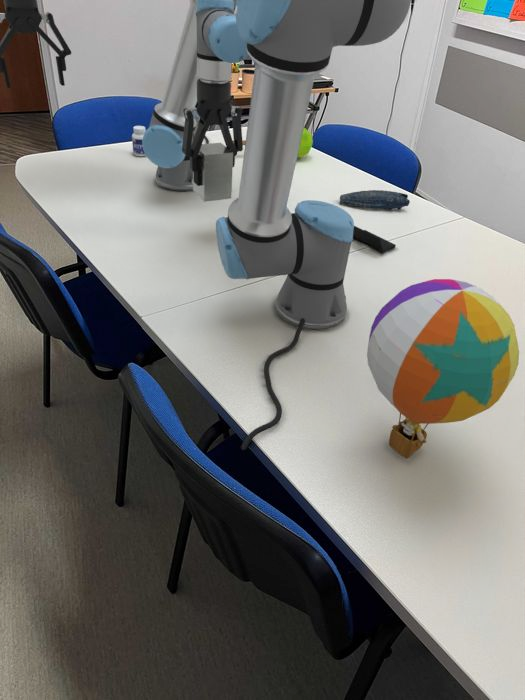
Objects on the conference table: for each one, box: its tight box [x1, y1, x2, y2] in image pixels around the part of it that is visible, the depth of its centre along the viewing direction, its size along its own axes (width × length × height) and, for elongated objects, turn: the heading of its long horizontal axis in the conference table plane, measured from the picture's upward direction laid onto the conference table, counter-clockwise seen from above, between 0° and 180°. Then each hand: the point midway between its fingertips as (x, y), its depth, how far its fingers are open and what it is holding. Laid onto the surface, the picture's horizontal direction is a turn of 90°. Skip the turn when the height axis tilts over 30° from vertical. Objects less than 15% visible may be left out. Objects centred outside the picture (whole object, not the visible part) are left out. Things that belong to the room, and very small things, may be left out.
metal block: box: [192, 142, 234, 203], centre depth 126 cm, size 7×7×11 cm
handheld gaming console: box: [353, 225, 397, 255], centre depth 137 cm, size 12×7×10 cm
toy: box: [366, 278, 520, 459], centre depth 74 cm, size 20×20×30 cm
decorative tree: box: [233, 127, 314, 159], centre depth 185 cm, size 18×10×30 cm
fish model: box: [339, 189, 411, 211], centre depth 158 cm, size 7×21×5 cm, turn 84°
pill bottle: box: [131, 125, 147, 157], centre depth 178 cm, size 5×5×9 cm
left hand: (35, 85), depth 138 cm, fingers open, 13 cm apart
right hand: (212, 181), depth 128 cm, fingers closed on metal block, 7 cm apart
